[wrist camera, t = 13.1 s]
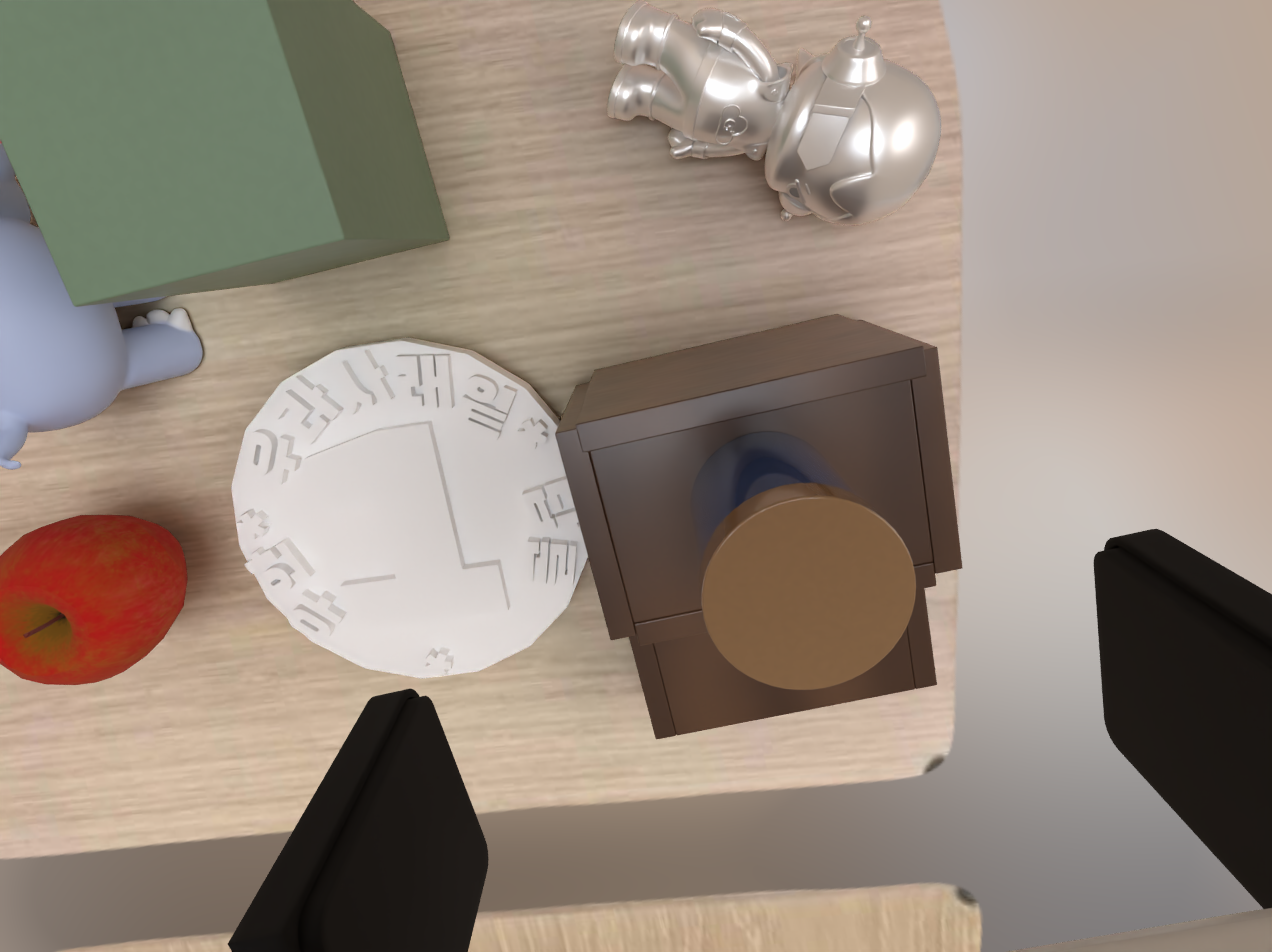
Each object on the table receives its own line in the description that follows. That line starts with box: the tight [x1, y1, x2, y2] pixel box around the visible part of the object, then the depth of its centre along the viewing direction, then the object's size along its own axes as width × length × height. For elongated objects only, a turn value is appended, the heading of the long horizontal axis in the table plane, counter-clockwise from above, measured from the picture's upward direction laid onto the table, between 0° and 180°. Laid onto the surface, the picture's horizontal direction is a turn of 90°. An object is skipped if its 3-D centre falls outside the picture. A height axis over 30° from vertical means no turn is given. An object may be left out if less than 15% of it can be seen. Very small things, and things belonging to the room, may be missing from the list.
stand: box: [0, 0, 449, 307], centre depth 32 cm, size 10×10×15 cm
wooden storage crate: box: [555, 314, 962, 739], centre depth 38 cm, size 16×21×13 cm
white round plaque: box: [231, 337, 588, 679], centre depth 43 cm, size 20×20×3 cm
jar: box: [690, 432, 916, 690], centre depth 28 cm, size 7×7×9 cm
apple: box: [0, 515, 188, 685], centre depth 40 cm, size 9×8×11 cm
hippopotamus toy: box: [0, 140, 203, 470], centre depth 36 cm, size 11×15×10 cm
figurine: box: [607, 0, 941, 226], centre depth 35 cm, size 11×7×15 cm
